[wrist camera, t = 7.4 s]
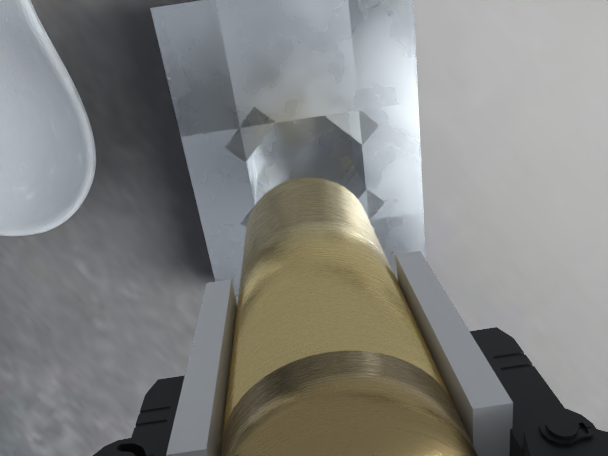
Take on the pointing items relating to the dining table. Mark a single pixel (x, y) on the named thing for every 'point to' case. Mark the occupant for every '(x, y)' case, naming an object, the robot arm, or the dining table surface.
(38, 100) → the spoon rest
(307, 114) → the bore housing
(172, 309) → the dining table surface
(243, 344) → the gold capped cylinder
